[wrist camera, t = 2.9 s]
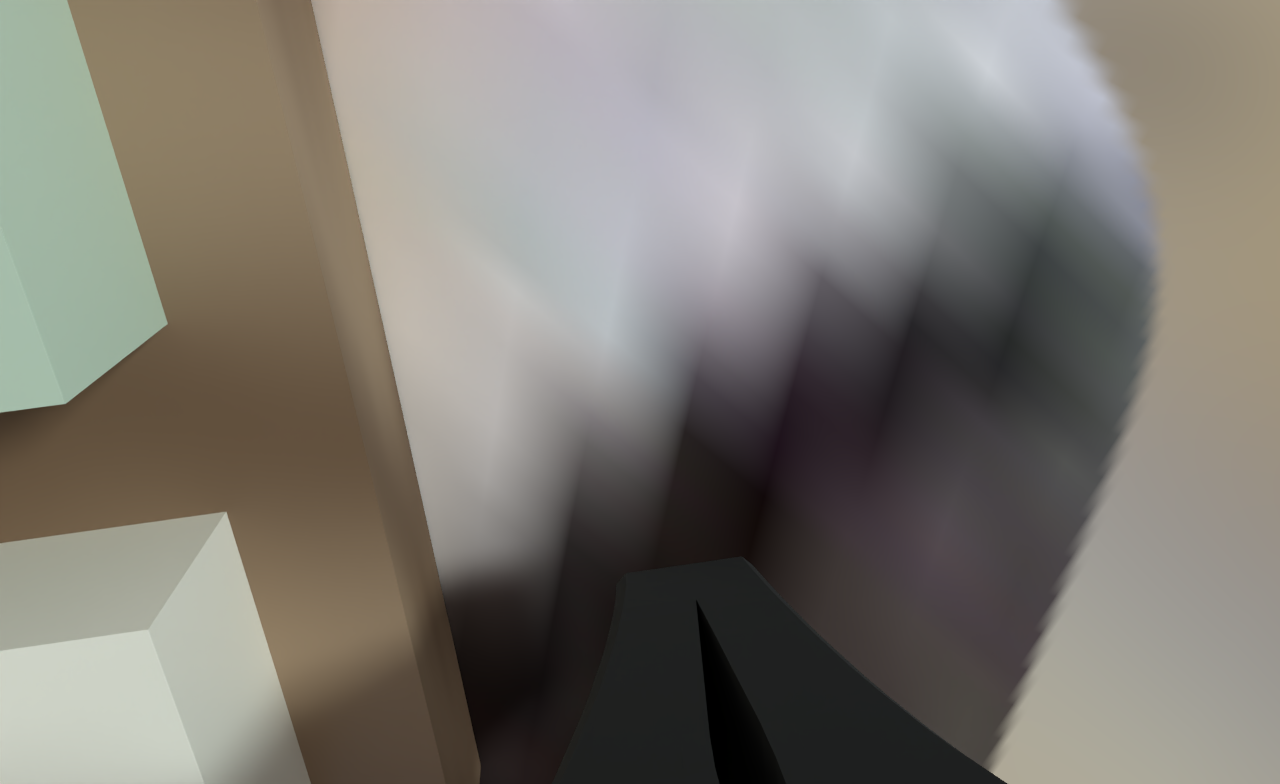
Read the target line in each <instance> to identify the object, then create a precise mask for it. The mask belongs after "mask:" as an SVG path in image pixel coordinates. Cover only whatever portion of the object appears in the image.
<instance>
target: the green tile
mask: <svg viewBox="0 0 1280 784" xmlns="http://www.w3.org/2000/svg"><path fill="white" fill-rule="evenodd" d="M167 324H168V323H167V320H166V316H165V313H164V310H163V307H162V304H161V300H160V297H159V294H158V291H157V288H156V284H155V281H154V278H153V275H152V272H151V268H150V265H149V262H148V259H147V255H146V252H145V249H144V246H143V243H142V239H141V236H140V233H139V230H138V227H137V223H136V220H135V217H134V214H133V210H132V207H131V204H130V201H129V198H128V194H127V191H126V188H125V185H124V182H123V178H122V175H121V172H120V169H119V165H118V162H117V159H116V156H115V153H114V149H113V146H112V143H111V140H110V137H109V133H108V130H107V127H106V124H105V121H104V117H103V114H102V111H101V108H100V104H99V101H98V98H97V95H96V92H95V88H94V85H93V82H92V79H91V76H90V72H89V69H88V66H87V63H86V59H85V56H84V53H83V50H82V47H81V43H80V40H79V37H78V34H77V31H76V27H75V24H74V21H73V18H72V14H71V11H70V8H69V5H68V2H67V0H0V413H1V412H8V411H16V410H23V409H31V408H38V407H46V406H53V405H61V404H66V403H67V402H69V401H70V400H71V399H73V398H74V397H75V396H76V395H78V394H79V393H80V392H81V391H83V390H84V389H85V388H87V387H88V386H89V385H90V384H92V383H93V382H94V381H95V380H97V379H98V378H99V377H101V376H102V375H103V374H104V373H106V372H107V371H108V370H110V369H111V368H112V367H113V366H115V365H116V364H117V363H118V362H120V361H121V360H122V359H124V358H125V357H126V356H127V355H129V354H130V353H131V352H133V351H134V350H135V349H136V348H138V347H139V346H140V345H141V344H143V343H144V342H145V341H147V340H148V339H149V338H150V337H152V336H153V335H154V334H155V333H157V332H158V331H159V330H161V329H162V328H163V327H164V326H166V325H167Z"/></svg>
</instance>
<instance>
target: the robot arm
mask: <svg viewBox="0 0 1280 784" xmlns="http://www.w3.org/2000/svg"><path fill="white" fill-rule="evenodd" d="M552 784H1007V783H1005V782H1004V781H1002V780H1001V779H1000V778H998V777H997V776H995V775H994V774H992V773H991V772H989V771H988V770H986V769H985V768H983V767H982V766H980V765H979V764H977V763H976V762H974V761H973V760H971V759H970V758H968V757H967V756H965V755H964V754H963V753H961V752H960V751H958V750H957V749H956V748H954V747H953V746H952V745H950V744H949V743H947V742H946V741H945V740H943V739H942V738H941V737H939V736H938V735H937V734H935V733H934V732H933V731H931V730H930V729H929V728H928V727H926V726H925V725H924V724H922V723H921V722H920V721H919V720H917V719H916V718H915V717H914V716H912V715H911V714H910V713H909V712H907V711H906V710H905V709H904V708H902V707H901V706H900V705H899V704H897V703H896V702H895V701H894V700H892V699H891V698H890V697H889V696H887V695H886V694H885V693H884V692H883V691H881V690H880V689H879V688H878V687H877V686H876V685H874V684H873V683H872V682H871V681H870V680H869V679H867V678H866V677H865V676H864V675H863V674H862V673H861V672H859V671H858V670H857V669H856V668H855V667H854V666H853V665H852V664H851V663H849V662H848V661H847V660H846V659H845V658H844V657H843V656H842V655H841V654H840V653H838V652H837V651H836V650H835V649H834V648H833V647H832V646H831V645H830V644H829V643H827V642H826V641H825V640H824V639H823V638H822V637H821V636H820V635H819V634H818V633H817V632H816V631H815V630H814V629H813V628H812V627H811V626H810V625H809V624H808V623H807V622H806V621H805V620H804V619H803V618H802V617H801V616H800V615H799V614H798V613H797V612H796V611H795V610H794V609H793V608H792V607H791V606H790V605H789V604H788V603H787V602H786V601H785V600H784V599H783V598H782V597H781V596H780V595H779V594H778V593H777V592H776V591H775V590H774V588H773V587H772V586H771V585H770V584H769V583H768V582H767V581H766V580H765V579H764V578H763V576H762V575H761V574H760V573H759V572H758V571H757V570H756V568H755V567H754V566H753V565H752V564H750V563H749V562H748V561H747V560H745V559H744V558H743V557H736V558H729V559H722V560H715V561H708V562H701V563H694V564H688V565H681V566H674V567H667V568H660V569H653V570H646V571H639V572H633V573H626V574H625V575H624V576H623V577H622V578H621V580H620V581H619V582H618V583H617V584H616V600H615V607H614V613H613V618H612V623H611V627H610V631H609V635H608V638H607V642H606V646H605V649H604V653H603V656H602V659H601V662H600V665H599V668H598V671H597V674H596V677H595V680H594V683H593V686H592V688H591V691H590V694H589V697H588V700H587V703H586V706H585V708H584V711H583V713H582V716H581V718H580V721H579V723H578V725H577V728H576V730H575V732H574V735H573V737H572V739H571V741H570V744H569V746H568V748H567V751H566V753H565V755H564V758H563V760H562V762H561V764H560V767H559V769H558V771H557V774H556V776H555V778H554V780H553V782H552Z"/></svg>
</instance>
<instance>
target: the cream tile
mask: <svg viewBox="0 0 1280 784" xmlns="http://www.w3.org/2000/svg"><path fill="white" fill-rule="evenodd" d="M0 784H311V782H310V779H309V776H308V773H307V770H306V766H305V763H304V760H303V757H302V753H301V750H300V747H299V744H298V741H297V737H296V734H295V731H294V728H293V725H292V721H291V718H290V715H289V712H288V708H287V705H286V702H285V699H284V696H283V692H282V689H281V686H280V683H279V680H278V676H277V673H276V670H275V667H274V663H273V660H272V657H271V654H270V651H269V647H268V644H267V641H266V638H265V635H264V631H263V628H262V625H261V622H260V619H259V615H258V612H257V609H256V606H255V602H254V599H253V596H252V593H251V590H250V586H249V583H248V580H247V577H246V574H245V570H244V567H243V564H242V561H241V557H240V554H239V551H238V548H237V545H236V541H235V538H234V535H233V532H232V529H231V525H230V522H229V519H228V516H227V512H220V513H213V514H206V515H199V516H192V517H185V518H177V519H170V520H163V521H156V522H149V523H142V524H135V525H127V526H120V527H113V528H106V529H99V530H92V531H85V532H77V533H70V534H63V535H56V536H49V537H42V538H34V539H27V540H20V541H13V542H6V543H0Z"/></svg>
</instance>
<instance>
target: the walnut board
mask: <svg viewBox="0 0 1280 784" xmlns="http://www.w3.org/2000/svg"><path fill="white" fill-rule="evenodd" d="M67 2H68V5H69V8H70V11H71V14H72V18H73V21H74V24H75V27H76V31H77V34H78V37H79V40H80V43H81V47H82V50H83V53H84V56H85V59H86V63H87V66H88V69H89V72H90V76H91V79H92V82H93V85H94V88H95V92H96V95H97V98H98V101H99V104H100V108H101V111H102V114H103V117H104V121H105V124H106V127H107V130H108V133H109V137H110V140H111V143H112V146H113V149H114V153H115V156H116V159H117V162H118V165H119V169H120V172H121V175H122V178H123V182H124V185H125V188H126V191H127V194H128V198H129V201H130V204H131V207H132V210H133V214H134V217H135V220H136V223H137V227H138V230H139V233H140V236H141V239H142V243H143V246H144V249H145V252H146V255H147V259H148V262H149V265H150V268H151V272H152V275H153V278H154V281H155V284H156V288H157V291H158V294H159V297H160V300H161V304H162V307H163V310H164V313H165V316H166V320H167V323H168V324H167V325H166V326H164V327H163V328H162V329H161V330H159V331H158V332H157V333H155V334H154V335H153V336H152V337H150V338H149V339H148V340H147V341H145V342H144V343H143V344H141V345H140V346H139V347H138V348H136V349H135V350H134V351H133V352H131V353H130V354H129V355H127V356H126V357H125V358H124V359H122V360H121V361H120V362H118V363H117V364H116V365H115V366H113V367H112V368H111V369H110V370H108V371H107V372H106V373H104V374H103V375H102V376H101V377H99V378H98V379H97V380H95V381H94V382H93V383H92V384H90V385H89V386H88V387H87V388H85V389H84V390H83V391H81V392H80V393H79V394H78V395H76V396H75V397H74V398H73V399H71V400H70V401H69V402H67V403H66V404H61V405H53V406H46V407H38V408H31V409H23V410H16V411H8V412H1V413H0V543H6V542H13V541H20V540H27V539H34V538H42V537H49V536H56V535H63V534H70V533H77V532H85V531H92V530H99V529H106V528H113V527H120V526H127V525H135V524H142V523H149V522H156V521H163V520H170V519H177V518H185V517H192V516H199V515H206V514H213V513H220V512H227V516H228V519H229V522H230V525H231V529H232V532H233V535H234V538H235V541H236V545H237V548H238V551H239V554H240V557H241V561H242V564H243V567H244V570H245V574H246V577H247V580H248V583H249V586H250V590H251V593H252V596H253V599H254V602H255V606H256V609H257V612H258V615H259V619H260V622H261V625H262V628H263V631H264V635H265V638H266V641H267V644H268V647H269V651H270V654H271V657H272V660H273V663H274V667H275V670H276V673H277V676H278V680H279V683H280V686H281V689H282V692H283V696H284V699H285V702H286V705H287V708H288V712H289V715H290V718H291V721H292V725H293V728H294V731H295V734H296V737H297V741H298V744H299V747H300V750H301V753H302V757H303V760H304V763H305V766H306V770H307V773H308V776H309V779H310V782H311V784H479V782H480V771H481V764H480V760H479V755H478V751H477V746H476V742H475V737H474V733H473V728H472V724H471V719H470V715H469V710H468V706H467V701H466V697H465V692H464V688H463V683H462V679H461V674H460V670H459V665H458V661H457V656H456V652H455V647H454V643H453V638H452V634H451V629H450V625H449V620H448V616H447V611H446V607H445V602H444V598H443V593H442V589H441V584H440V580H439V575H438V571H437V566H436V562H435V557H434V553H433V548H432V544H431V539H430V535H429V530H428V526H427V521H426V517H425V512H424V508H423V503H422V499H421V494H420V490H419V485H418V481H417V476H416V472H415V467H414V463H413V458H412V454H411V449H410V445H409V440H408V436H407V431H406V427H405V422H404V418H403V413H402V409H401V404H400V400H399V395H398V391H397V386H396V382H395V377H394V373H393V368H392V364H391V359H390V355H389V350H388V346H387V341H386V337H385V332H384V328H383V323H382V319H381V314H380V310H379V305H378V301H377V296H376V292H375V287H374V283H373V278H372V274H371V269H370V265H369V260H368V256H367V251H366V247H365V242H364V238H363V233H362V229H361V224H360V220H359V215H358V211H357V206H356V202H355V197H354V193H353V188H352V184H351V179H350V175H349V170H348V166H347V161H346V157H345V152H344V148H343V143H342V139H341V134H340V130H339V125H338V121H337V116H336V112H335V107H334V103H333V98H332V94H331V89H330V85H329V80H328V76H327V71H326V67H325V62H324V58H323V53H322V49H321V44H320V40H319V35H318V31H317V26H316V22H315V17H314V13H313V8H312V4H311V0H67Z"/></svg>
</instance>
